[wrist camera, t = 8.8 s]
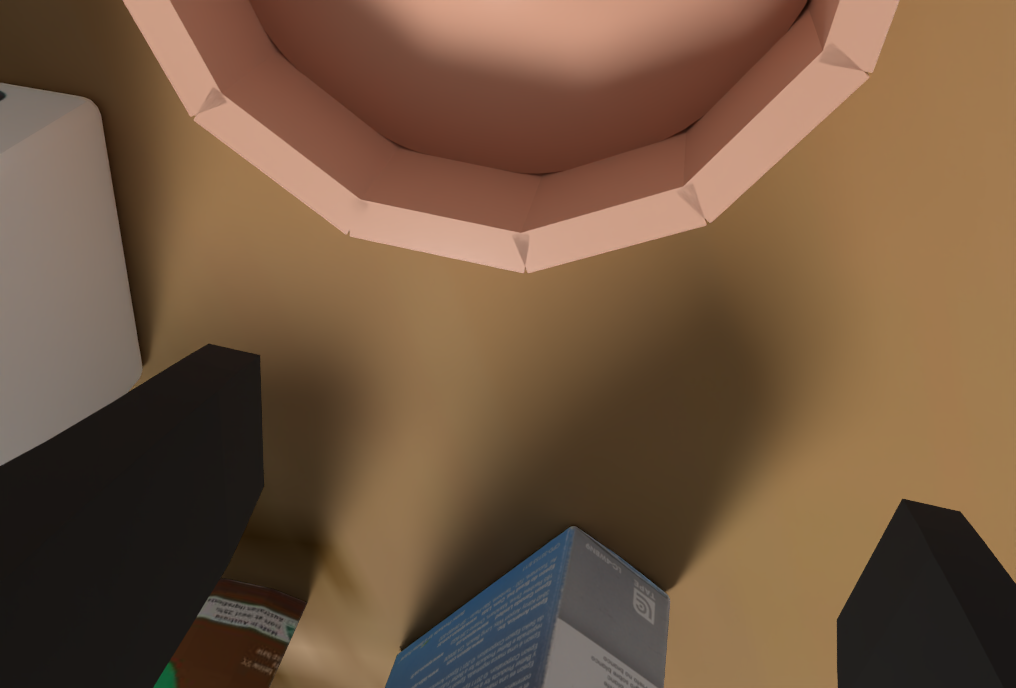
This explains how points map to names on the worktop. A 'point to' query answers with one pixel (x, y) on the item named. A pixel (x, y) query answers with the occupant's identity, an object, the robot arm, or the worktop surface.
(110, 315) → the container
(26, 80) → the worktop surface
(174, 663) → the food container
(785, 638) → the worktop surface
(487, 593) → the label tape box
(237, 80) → the bowl
